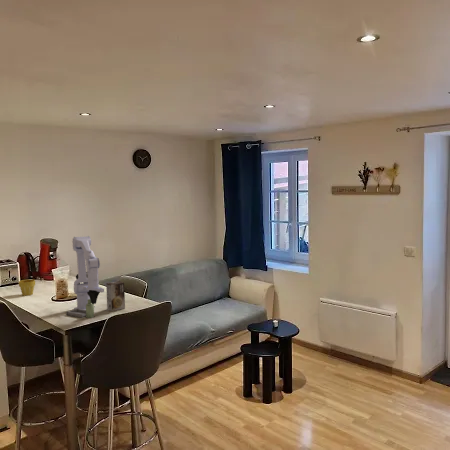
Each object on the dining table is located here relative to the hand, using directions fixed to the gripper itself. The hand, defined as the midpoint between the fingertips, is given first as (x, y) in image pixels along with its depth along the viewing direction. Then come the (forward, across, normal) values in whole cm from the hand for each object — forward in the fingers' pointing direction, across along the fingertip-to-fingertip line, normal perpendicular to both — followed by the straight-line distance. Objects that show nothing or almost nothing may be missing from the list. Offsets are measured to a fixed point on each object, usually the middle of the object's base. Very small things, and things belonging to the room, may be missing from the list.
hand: (93, 303), depth 244 cm
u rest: (+8, -12, 0) cm, 14 cm away
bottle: (+8, -3, 0) cm, 9 cm away
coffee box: (+8, -3, +20) cm, 22 cm away
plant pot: (+8, -84, +18) cm, 86 cm away
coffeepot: (+8, -47, +38) cm, 61 cm away
